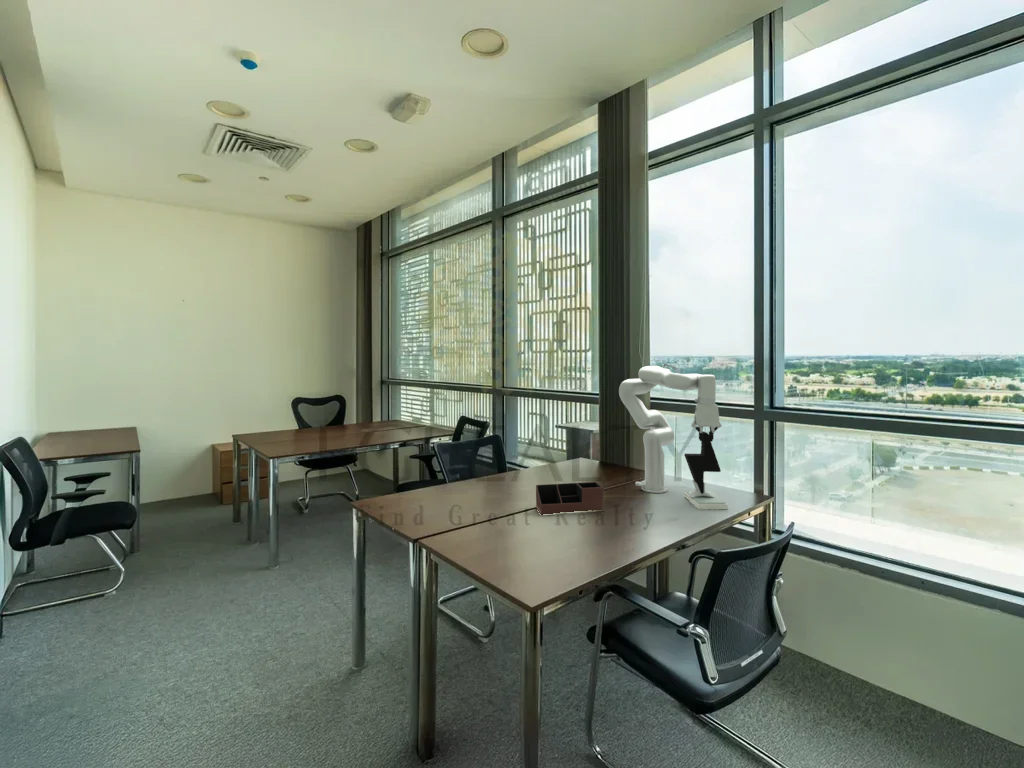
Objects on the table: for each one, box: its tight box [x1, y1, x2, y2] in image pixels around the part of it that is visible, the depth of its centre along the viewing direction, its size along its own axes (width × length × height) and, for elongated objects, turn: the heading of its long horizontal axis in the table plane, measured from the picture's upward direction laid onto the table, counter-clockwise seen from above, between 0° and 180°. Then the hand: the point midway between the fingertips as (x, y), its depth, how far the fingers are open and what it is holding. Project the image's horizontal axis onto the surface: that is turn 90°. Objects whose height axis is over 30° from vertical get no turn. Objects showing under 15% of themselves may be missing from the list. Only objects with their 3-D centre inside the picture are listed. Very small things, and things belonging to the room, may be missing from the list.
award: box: [684, 431, 721, 498], centre depth 226 cm, size 15×5×30 cm, turn 87°
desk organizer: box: [535, 481, 604, 515], centre depth 218 cm, size 10×29×11 cm, turn 99°
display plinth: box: [684, 490, 729, 511], centre depth 226 cm, size 13×19×3 cm
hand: (706, 440), depth 225 cm, fingers open, 3 cm apart
